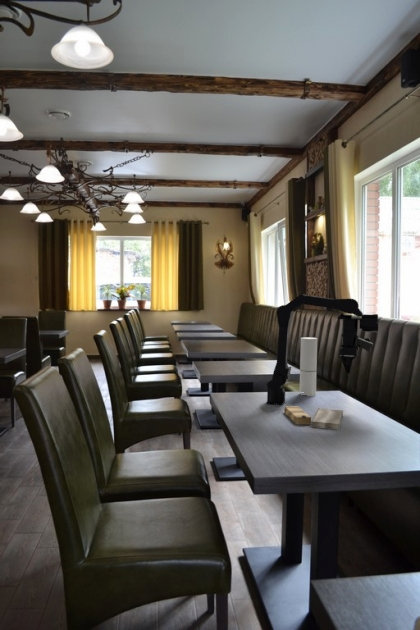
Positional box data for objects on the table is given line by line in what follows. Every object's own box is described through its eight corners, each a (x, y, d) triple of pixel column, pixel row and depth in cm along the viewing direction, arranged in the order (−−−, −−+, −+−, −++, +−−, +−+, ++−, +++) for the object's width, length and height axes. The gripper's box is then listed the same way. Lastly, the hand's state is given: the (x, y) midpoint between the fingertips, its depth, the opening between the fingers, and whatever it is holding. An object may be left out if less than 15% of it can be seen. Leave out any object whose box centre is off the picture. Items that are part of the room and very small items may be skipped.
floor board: (311, 426, 157) (311, 421, 157) (317, 412, 176) (318, 407, 175) (339, 429, 154) (339, 423, 154) (342, 415, 173) (343, 410, 173)
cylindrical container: (314, 393, 212) (316, 337, 211) (316, 396, 204) (318, 339, 203) (298, 392, 212) (300, 337, 211) (300, 395, 205) (301, 338, 204)
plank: (284, 412, 175) (284, 404, 175) (297, 412, 176) (297, 404, 176) (297, 424, 159) (297, 416, 158) (311, 424, 159) (311, 416, 159)
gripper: (371, 333, 169) (370, 377, 170) (372, 330, 186) (371, 369, 187) (339, 332, 173) (338, 374, 173) (343, 329, 190) (342, 367, 191)
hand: (348, 371), depth 181 cm, fingers open, 9 cm apart
